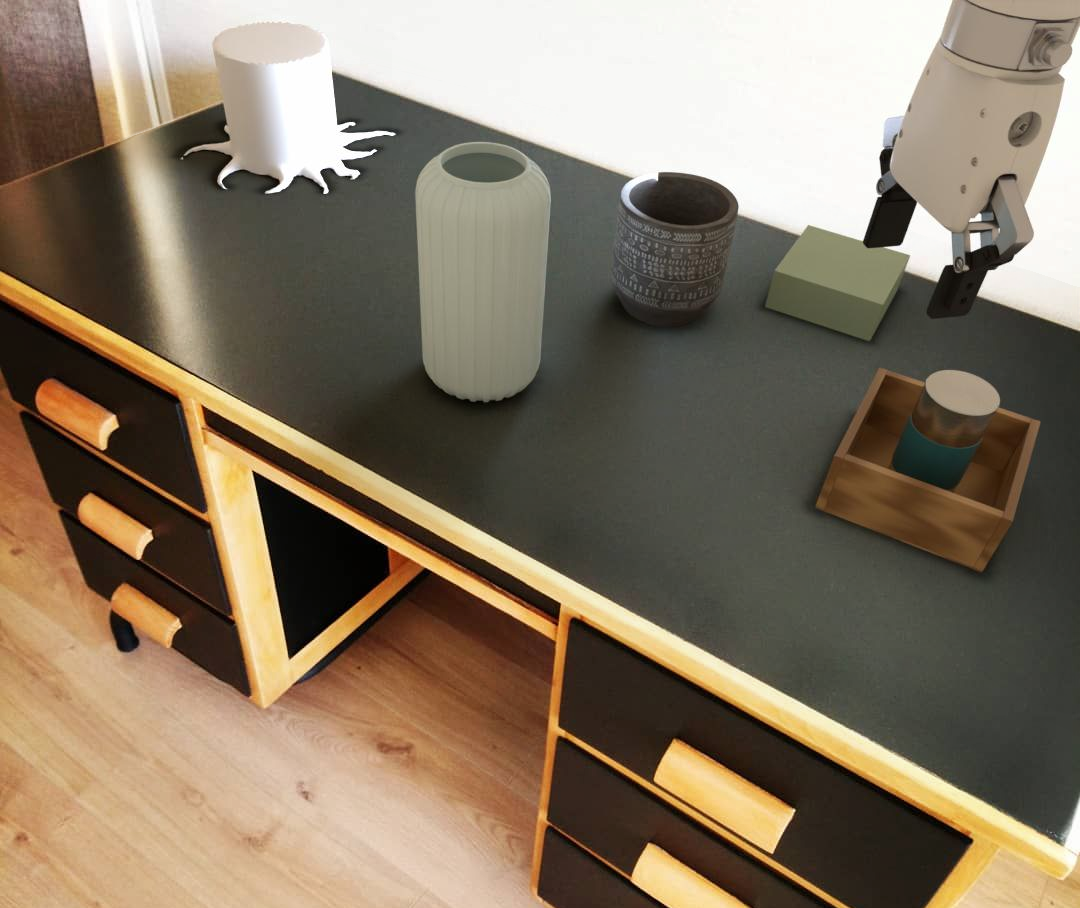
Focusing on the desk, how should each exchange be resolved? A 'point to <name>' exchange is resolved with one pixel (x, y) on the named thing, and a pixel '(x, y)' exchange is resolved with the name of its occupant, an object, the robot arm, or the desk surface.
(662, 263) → the planter
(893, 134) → the robot arm
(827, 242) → the stand
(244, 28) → the white tree stump model
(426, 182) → the vase
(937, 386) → the tea tin
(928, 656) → the desk surface
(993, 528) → the wooden box
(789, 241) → the desk surface
